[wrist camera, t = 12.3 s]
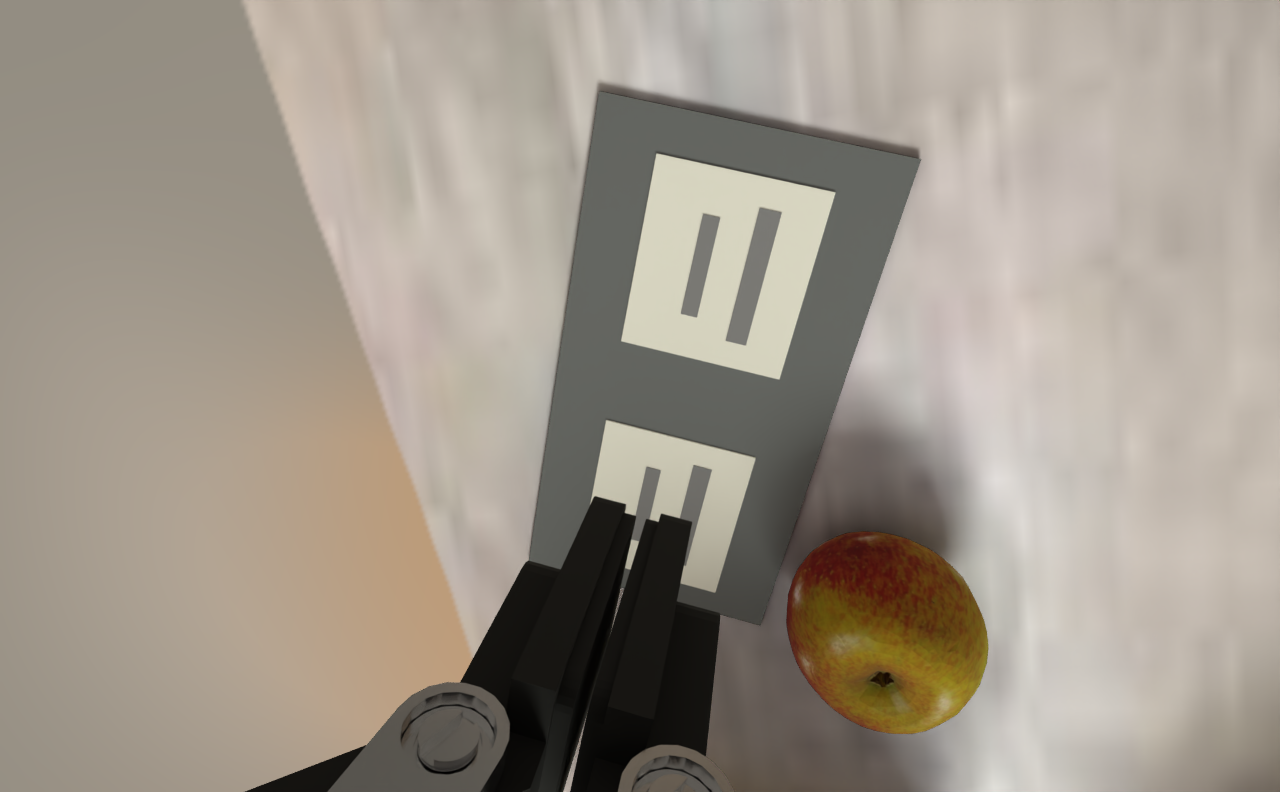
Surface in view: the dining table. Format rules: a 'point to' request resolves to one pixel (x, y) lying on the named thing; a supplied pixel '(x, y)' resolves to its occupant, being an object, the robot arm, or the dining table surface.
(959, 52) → the dining table surface
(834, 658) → the fruit
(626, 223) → the label mat
